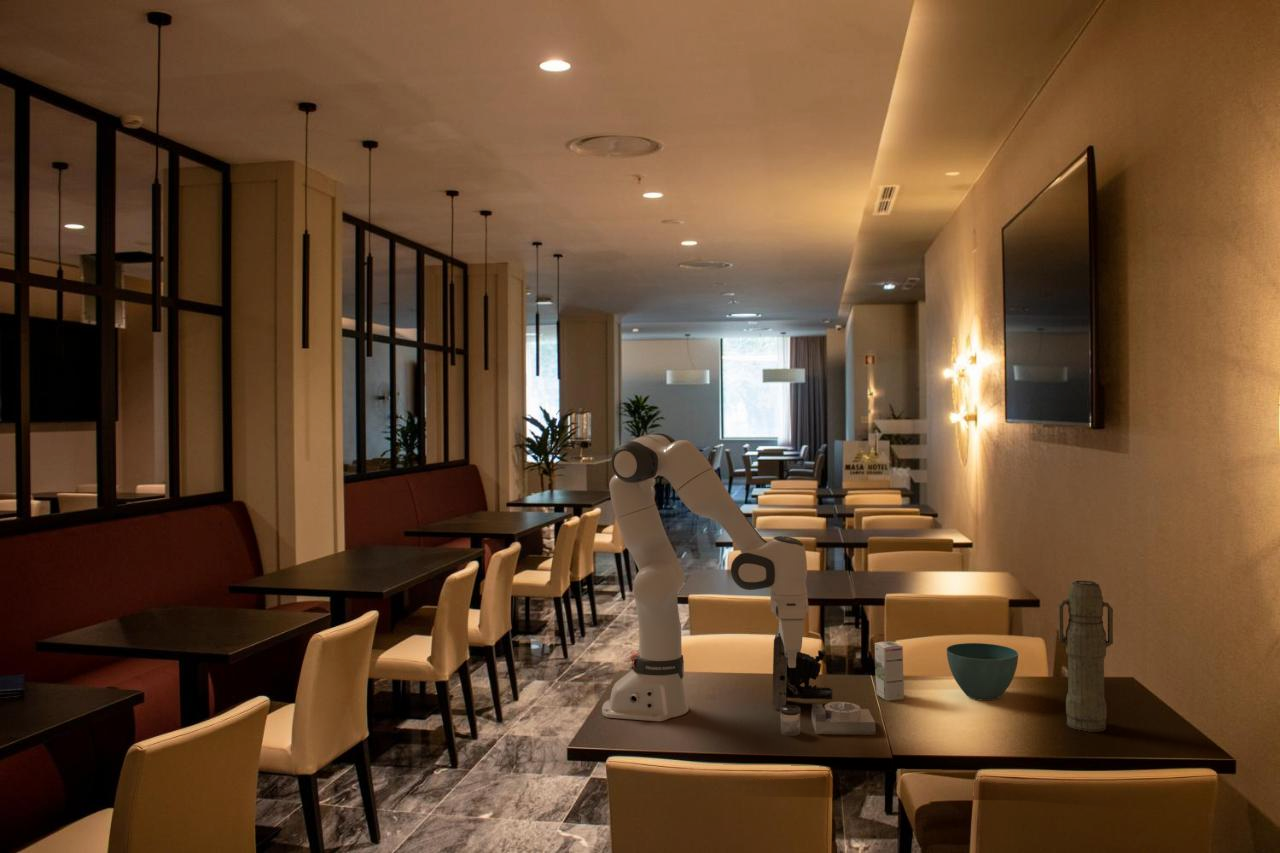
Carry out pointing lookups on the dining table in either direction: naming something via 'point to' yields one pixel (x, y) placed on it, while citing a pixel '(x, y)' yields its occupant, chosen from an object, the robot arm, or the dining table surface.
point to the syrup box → (889, 670)
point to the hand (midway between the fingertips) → (790, 661)
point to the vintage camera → (795, 676)
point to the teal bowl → (982, 668)
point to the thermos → (1086, 655)
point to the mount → (842, 719)
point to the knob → (790, 720)
